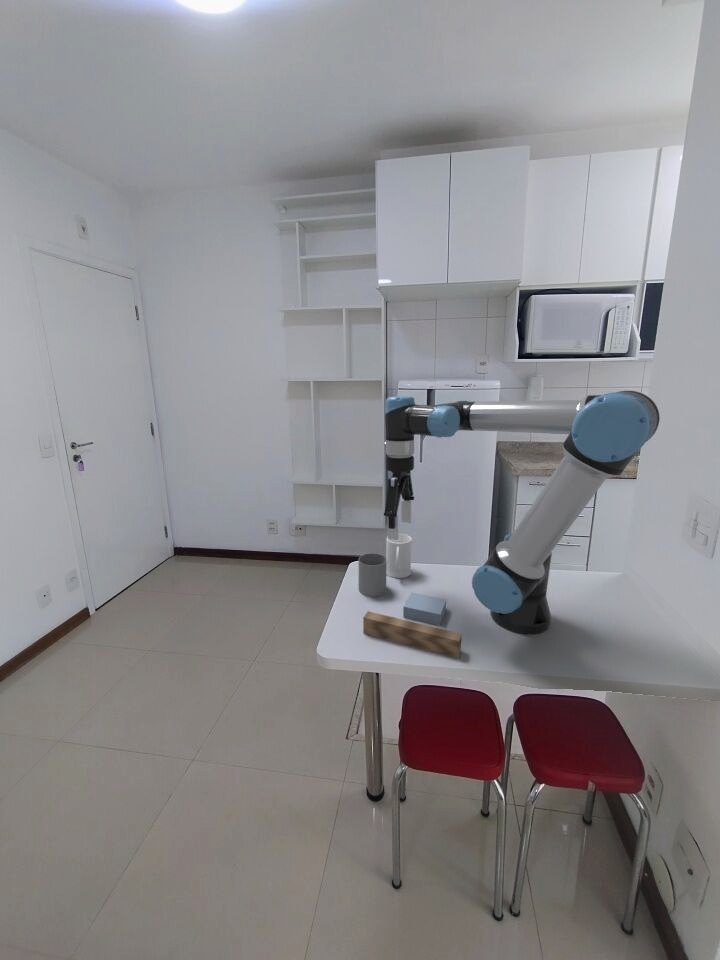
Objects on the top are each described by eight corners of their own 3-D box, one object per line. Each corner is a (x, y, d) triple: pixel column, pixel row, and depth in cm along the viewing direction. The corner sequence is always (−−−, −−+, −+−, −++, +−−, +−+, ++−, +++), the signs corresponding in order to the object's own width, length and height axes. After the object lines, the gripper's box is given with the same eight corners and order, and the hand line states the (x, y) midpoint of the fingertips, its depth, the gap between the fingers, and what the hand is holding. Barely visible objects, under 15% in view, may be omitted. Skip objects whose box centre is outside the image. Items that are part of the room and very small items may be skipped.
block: (445, 610, 118) (446, 599, 118) (439, 626, 111) (440, 614, 110) (411, 603, 122) (411, 592, 121) (403, 618, 115) (403, 606, 114)
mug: (408, 584, 131) (409, 549, 128) (381, 581, 133) (381, 546, 130) (412, 567, 142) (413, 534, 139) (387, 564, 144) (388, 532, 141)
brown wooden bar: (460, 650, 101) (461, 633, 100) (458, 657, 99) (459, 641, 98) (367, 626, 111) (367, 611, 109) (363, 632, 108) (363, 617, 107)
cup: (356, 595, 126) (356, 564, 123) (360, 581, 133) (360, 552, 131) (384, 597, 124) (385, 566, 122) (387, 583, 132) (388, 554, 129)
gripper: (399, 446, 126) (399, 514, 131) (370, 464, 103) (372, 545, 108) (424, 447, 123) (423, 517, 128) (400, 465, 100) (400, 548, 106)
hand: (399, 530), depth 118 cm, fingers open, 13 cm apart
